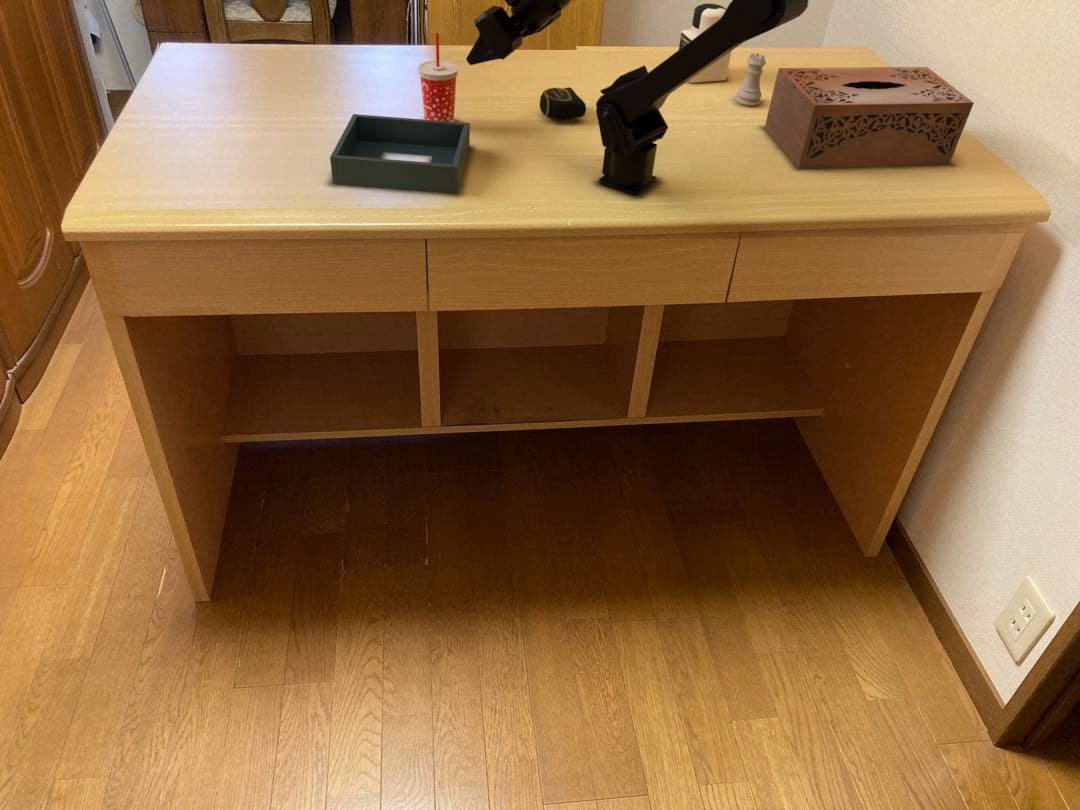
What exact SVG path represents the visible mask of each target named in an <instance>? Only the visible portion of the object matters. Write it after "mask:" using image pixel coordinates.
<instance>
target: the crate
mask: <svg viewBox="0 0 1080 810" xmlns="http://www.w3.org/2000/svg"><path fill="white" fill-rule="evenodd" d="M470 128H471V123H470V122H461V121H454V122H449V121H436V120H424V119H422V118H410V117H398V116H397V117H396V116H382V115H369V114H358V113H353V114H352V116H351V117H350V119H349V121H348V123H347V124H346V127H345V128H344V131H343V132H342V134H341V135H340V138H339V140H338V142H337V143H336V145H335V147H334V149H333V151H332V153H331V155H330V156H329V160H330V169H331V179H332V184H333V185H343V186H344V185H345V186H356V187H357V186H359V187H370V188H381V189H383V188H384V189H396V190H406V191H407V190H410V191H422V192H435V193H444V194H445V193H446V194H449V193H450V194H458V192H459V188H460V184H461V182H462V178H463V174H464V170H465V167H466V163H467V158H468V156H469V151H470V147H471V145H470V143H471V142H470V141H471V140H470V139H471V136H470V131H471V129H470ZM384 153H394V154H409V155H420V156H421V155H422V156H432V157H431V160H430V162H428V161H416V160H415V161H414V160H401V159H390V158H382V157H383V154H384Z"/></svg>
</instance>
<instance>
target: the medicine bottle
mask: <svg viewBox="0 0 1080 810" xmlns="http://www.w3.org/2000/svg"><path fill="white" fill-rule="evenodd" d="M726 9H727V7H726V8H725V7H724V6H722V5H720V4H717V3H701V4H699V5H696V7H694V11H693V17H692V21H691V22H692V23H691V29H682V30H681V33H680V38H679V45H678V50H680V49H681V48H682V47H684V46H685V45H686V44H688V43H689V42H690V41H692V40H693V39H694V38H696V37H697V36H698V35H700V34H701V33H702V32H704V31H705V30H706V29H708V28H709V27H710V26H712V25H713V24H714V23H716V22H717V21H718V20H719V19H720V18H721V17H722V15H723V14H724V12H725V11H726ZM731 55H732V51H730V52H729V53H728V54H726V55H725V56H723V57H722V58H721V59H719V60H718V61H716V62H715V63H713V64H712V65H711V66H709V67H708V68H706V69H705V70H703V71H702V72H701V73H699V74H698V75H696V76H695V77H693V78H692V79H691V80H689V81H688V82H690V83H691V84H694V83H708V82H709V83H710V82H721V81H726V80H727V77H728V76H727V75H728V70H729V66H730V60H731V57H732V56H731Z"/></svg>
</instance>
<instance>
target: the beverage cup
mask: <svg viewBox="0 0 1080 810" xmlns="http://www.w3.org/2000/svg"><path fill="white" fill-rule="evenodd" d="M435 58H436V59H435V60H427V61H423V62H421V63H420V64H418V66H417V71H418V72H417V73H418V75H419V77H420V78H419V79H420V88H421V98H422V99H421V100H422V108H423V118H424V119H423V120H436V121H449V122H455V112H456V111H455V110H456V109H455V108H456V107H455V106H456V88H457V76H458V74H459V72H458V71H459V68H458V65H457V64H455V63H454V62H452V61H451V62H450V61H448V60H440V34H439V33H435Z"/></svg>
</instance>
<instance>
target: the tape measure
mask: <svg viewBox="0 0 1080 810" xmlns="http://www.w3.org/2000/svg"><path fill="white" fill-rule="evenodd" d="M539 109H540V112H541V113H542V114H543V115H544V116H545V117H547V118H549V119H552V120H553V121H555V120H557V121H568V120H569V121H570V120H573V119H578V118H579V119H580V118H582V117H584V116H585V115H586V112H587V105H586V103H585V101H584V100H583V99H582V98H581V97H580V96H578V94H577V93H576V92H575V90H574V89H573V88H571V87H569V86H567V87H564V88H563V87H550V88H547V89H544V91H542V93H541V95H540V98H539Z"/></svg>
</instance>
